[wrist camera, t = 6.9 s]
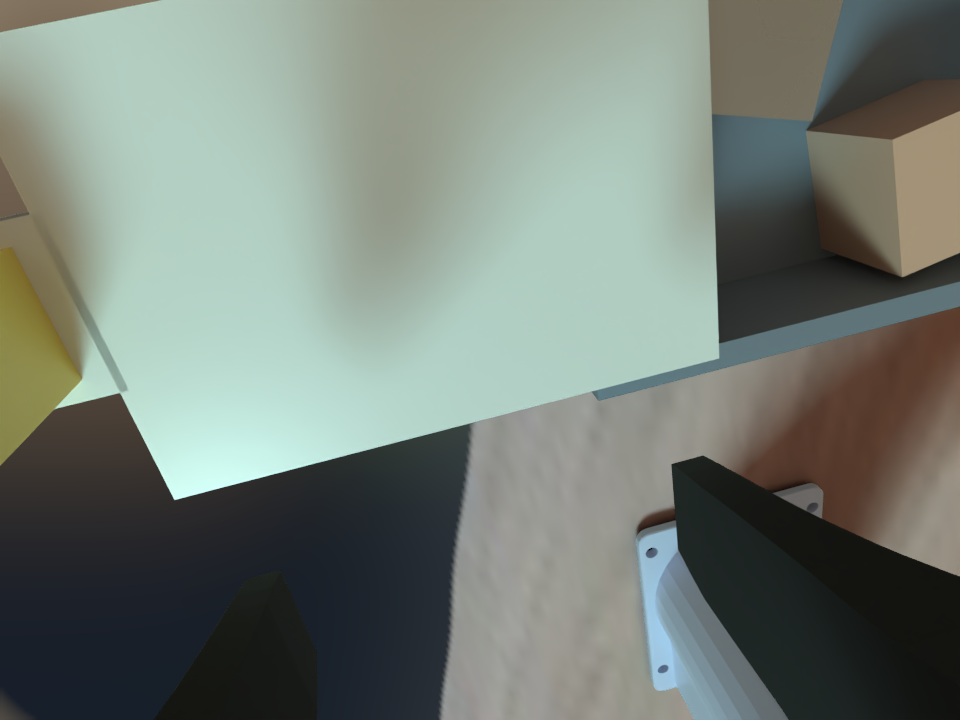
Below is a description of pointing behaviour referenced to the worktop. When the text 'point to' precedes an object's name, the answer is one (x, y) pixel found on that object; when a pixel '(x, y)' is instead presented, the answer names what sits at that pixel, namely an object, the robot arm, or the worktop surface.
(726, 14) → the brown cube
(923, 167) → the tan block
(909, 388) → the worktop surface
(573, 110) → the lid
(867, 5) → the tub
